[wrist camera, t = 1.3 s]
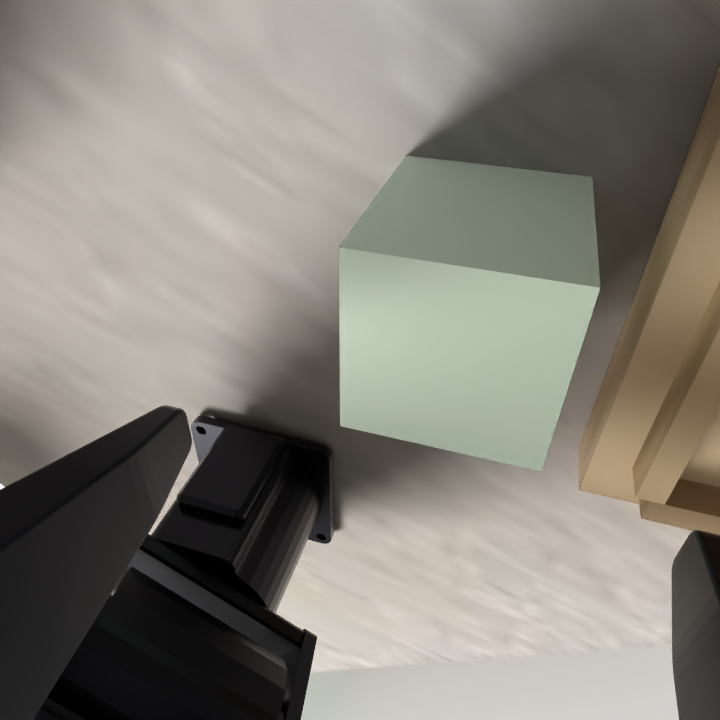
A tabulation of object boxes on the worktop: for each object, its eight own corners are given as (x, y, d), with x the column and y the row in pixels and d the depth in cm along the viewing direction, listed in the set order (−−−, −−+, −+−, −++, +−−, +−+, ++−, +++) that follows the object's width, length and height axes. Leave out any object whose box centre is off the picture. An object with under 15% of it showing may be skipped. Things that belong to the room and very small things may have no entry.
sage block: (549, 332, 18) (540, 471, 13) (396, 305, 19) (340, 426, 14) (592, 176, 15) (600, 287, 10) (406, 155, 16) (339, 247, 11)
